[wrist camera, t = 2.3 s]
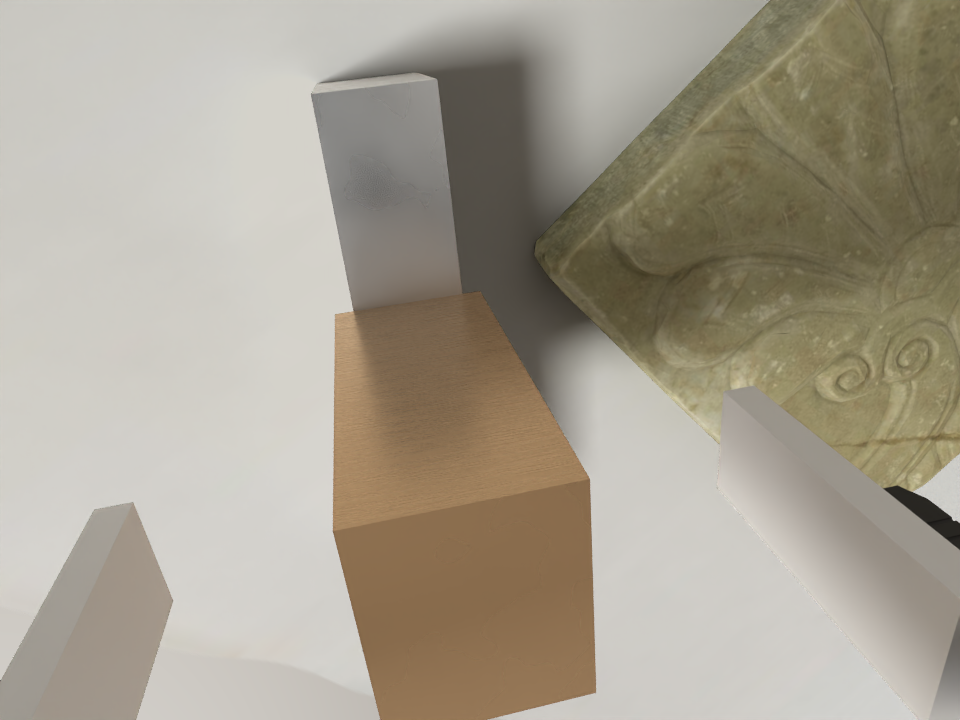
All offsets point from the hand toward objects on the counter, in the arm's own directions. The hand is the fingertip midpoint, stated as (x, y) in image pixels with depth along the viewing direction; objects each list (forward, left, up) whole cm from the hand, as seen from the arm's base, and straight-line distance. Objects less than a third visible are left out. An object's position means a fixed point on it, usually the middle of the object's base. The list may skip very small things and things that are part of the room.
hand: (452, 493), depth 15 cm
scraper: (0, 0, -10) cm, 10 cm away
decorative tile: (0, +18, -11) cm, 21 cm away
